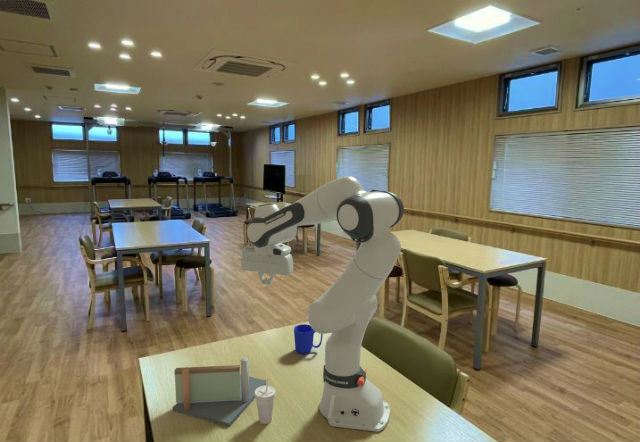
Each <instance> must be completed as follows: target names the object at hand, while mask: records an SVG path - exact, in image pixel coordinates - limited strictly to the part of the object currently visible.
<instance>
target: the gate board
mask: <svg viewBox="0 0 640 442" xmlns="http://www.w3.org/2000/svg"><path fill="white" fill-rule="evenodd" d="M249 363H250V362H249V358H247V357H243V358H241V360H240V392H241V397H240V399H238V400H220V401H201V402H190V380H189V369H188V368H186V367H184V368H185V369H183V370H182V377H183V398H184V402H183V403H175V404H174V405H173V406H172V411H173V412H176V413H180V414H182V415H186V416H190V417H193V418H197V419H200V420H204V421H208V422H211V423H213V424H218V425H220V426H225V427H228V428H230V427H231V426H232V425H233V424H234V423H235V422H236V420H238V418H240V416H241V414H243V412H244V411H246V409H247V408H248V406H249V405H251V403H252V402H253V401H254V400H256V398H255V396H254V394H255V390H256V389H257V388H258V387H260V386H264V385H266V379H262V378H258V377H252V376H250V375H249V367H250V366H249Z"/></svg>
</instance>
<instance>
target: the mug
mask: <svg viewBox="0 0 640 442" xmlns="http://www.w3.org/2000/svg"><path fill="white" fill-rule="evenodd" d="M315 333H317V332H316V331H314V330H313V329H312V327H311V326H310V324H305V323H304V324H303V323H302V324H297V325H295V326H294V327H293V336H294V348H295V351H296V352H297V353H298V354H301V355H305V354H309V353H310V352H311V351H312V350H313V348H314V349H318V348H320V347H321V345H322V342H323V335H324V334H320V339H319V344H317V345H315V344H314V336H315Z"/></svg>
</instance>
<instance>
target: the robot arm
mask: <svg viewBox="0 0 640 442" xmlns="http://www.w3.org/2000/svg"><path fill="white" fill-rule="evenodd" d="M404 207H405V206H404V203H403V201H402V199H401V198H400V196H398V195H397V194H395V193H393V192H390V191H386V190H385V191H384V190H378V189H371V190H370V191H366V190H365V189H364V188H363V187H362V185H361V183H360V181H359V180H358V179H356V178H355V177H353V176H349V175H345V176H341V177H338V178H337V177H336V179H333V180H330V181H328V182H326V183H325V184H323V185H321V186H319V187H318V188H316V189H314V190H313V191H311V192H309V193H308V194H306V195H304V196H303V197H301V198H300V199H298V200H296V201H294V202H292V203H291V204H289V205H287V206H285V207H283V208H279V206H278V205H277V204H275V203H264V204H263V203H262V204H259V205H257V206H256V208H255V210H254V217H253V218H252V219H251V220H250V221H249V223H248V224H247V227H246V231H245V232H246V237H247V239H248V241H249V242H250V243H251V244H252V245H245V246H243V247H242V249H241V262H240V263H241V265H240V268H241V269H242V270H243V271H249V272H255V273H256V272H257V273H258V274H257V275H258V276H259V278H260V279H261V280H260V281H261V282H260V283H261V284H262V285H263V284H264V285H266V284H267V285H268V286H269V285H270V286H271V285H273V281H274V278H275V276H276V275H281V276H290V275H292V274H293V272H294V261H293V256H292V254H291V252H292V247H291V246H289V245H288V244H287V245H286V244H284V243H289V242H291V241H294V240H295V239H296V237H297V236H298V233H299V227H301V226H302V227H303V226H311V225H313V226H314V225H322V224H327V223H331V222H334V221H337V223H338V225H339V227H340V229H341V230H342V231H343V232H344V233H345V234H346V235H347V236H349V238H350V239H351V240H352V241H353V242H356V243H360V245H359V246H358V249H357V250H356V252H355V254H354V255H353V257H352V258H351V260H350V262H349V264H348V266H347V267H346V268H345V270H344V271H343V273H342V274H341V275H340V276H339V278H337V279H336V281H335V282H334V283H333V284H331V286H330V287H329V288H327V290H326V291H324V293H323V294H322V295H320V296H319V297H318V298H317V299H316V300H314V301H313V302H310V304H309V305H308V308H307V313H306V314H307V315H306V316H307V317H306V318H307V322H308V325H310V326H311V327H312V329H313V330H314V331H316V332H315V333H317V334H320V335H321V334H323V335H324V334H325V335H326V334H329V337H328V338H327V340H326V341H325V347H324V351H325V352H324V353H325V354H324V365H323V371H322V372H323V373H322V378H323V379H322V380H323V388H322V389H323V390H322V396H321V399H320V402H319V406H318V407H319V408H318V409H319V412H320V413H321V415H322V416H323V417H324V418H326V420H327V423H328V425H329V426H331V427H334V428H344V429H352V430H361V431H368V432H370V431H371V432H381V431H383V430H385V428H386V427H387V425H388V423H389V421H390V417H391V407H390V405H389V404H388V402H387V401H384V397H383V395H382V394H383V393H382V391H381V390H380V389H379V387H377V386H375V385H374V384H373V383H372V382H371V381H369V379H367V370H368V369H367V368H364V369H363V368H362V367H361V353H362V352H361V350H362V343H363V339H364V336H365V333H366V330H367V327H368V325H369V322H370V321H371V319H372V317H373V316H374V314H375V313H376V311H377V310H378V303H379V302H378V298H377V295H376V294H378V292H379V290H380V288H381V287H382V286H383V284H384V283H385V281H386V280H387V279H388V277H389V275H390V274H391V272H392V271H393V269H394V267H395V265H396V263H397V261H398V259H399V256H400V254H401V250H402V244H401V241H400V239H399V238H398V237H397V235H395V234H394V233H393V232H392V231H391V228H393V227H395V226H396V225H397V224H398V223H399V222H400V221H401V220H402V218H403V217H404V212H405V210H404ZM264 274H269V277H270V278H266V277H265V275H264Z"/></svg>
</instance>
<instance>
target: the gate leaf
mask: <svg viewBox="0 0 640 442" xmlns="http://www.w3.org/2000/svg"><path fill="white" fill-rule="evenodd" d="M185 368H188V369H189V380H190V402H201V401H220V400H238V399H240V397H241V392H240V374H241V364H240V365H239V364H237V365H236V364H235V365H233V364H231V365H214V366H210V365H209V366H194V367H193V366H189V367H188V366H187V367H175V369H174V385H175V386H174V387H175V388H174V389H175V404H177V403H183V402H184V398H183V377H182V370H183V369H185Z"/></svg>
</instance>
